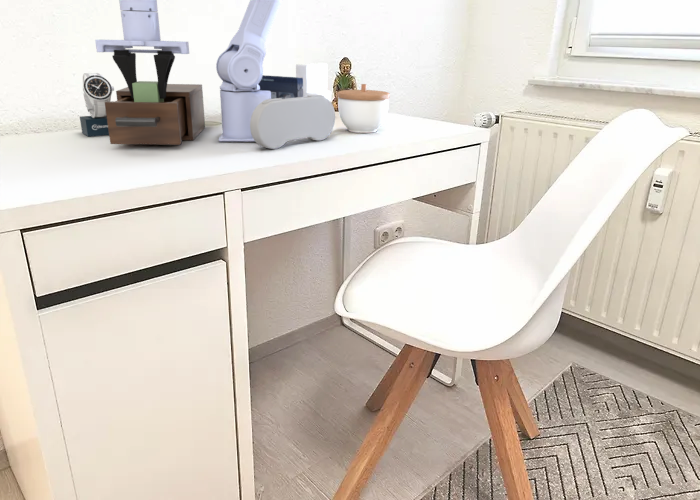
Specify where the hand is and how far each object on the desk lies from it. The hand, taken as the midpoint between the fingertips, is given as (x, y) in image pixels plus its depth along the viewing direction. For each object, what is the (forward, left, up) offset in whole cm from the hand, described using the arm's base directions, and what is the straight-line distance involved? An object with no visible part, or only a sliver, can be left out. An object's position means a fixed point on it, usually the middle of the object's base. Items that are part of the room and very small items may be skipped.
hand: (148, 98), depth 94 cm
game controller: (-25, -1, -8) cm, 26 cm away
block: (0, 0, -1) cm, 1 cm away
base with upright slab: (-29, -35, -8) cm, 46 cm away
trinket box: (-39, -16, -8) cm, 43 cm away
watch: (+12, -10, -8) cm, 17 cm away
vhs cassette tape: (-18, -25, -8) cm, 32 cm away
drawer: (0, +1, -7) cm, 7 cm away
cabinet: (0, -11, -8) cm, 13 cm away
